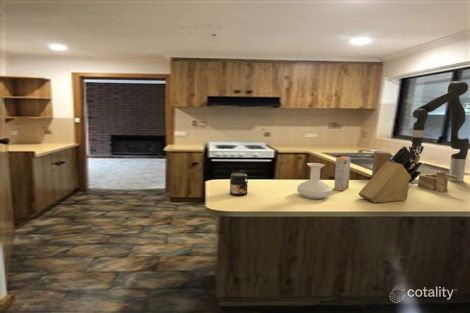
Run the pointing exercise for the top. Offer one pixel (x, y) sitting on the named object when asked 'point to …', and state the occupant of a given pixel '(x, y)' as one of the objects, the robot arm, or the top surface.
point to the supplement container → (238, 184)
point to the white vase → (314, 184)
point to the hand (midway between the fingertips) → (415, 159)
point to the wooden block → (380, 160)
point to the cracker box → (342, 173)
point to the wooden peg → (451, 176)
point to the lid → (416, 160)
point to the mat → (415, 181)
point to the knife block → (392, 179)
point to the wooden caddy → (434, 181)
